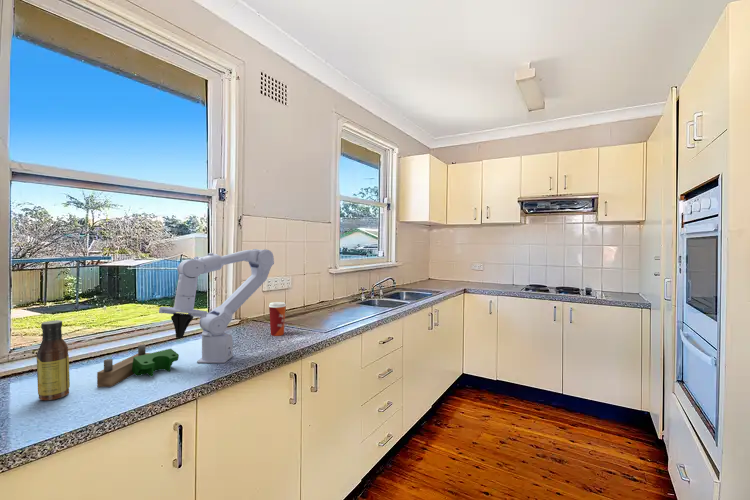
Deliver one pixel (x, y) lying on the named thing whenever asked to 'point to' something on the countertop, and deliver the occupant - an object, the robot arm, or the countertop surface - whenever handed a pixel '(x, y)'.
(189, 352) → the countertop surface
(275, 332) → the paper cup
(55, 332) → the sauce bottle
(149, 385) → the countertop surface
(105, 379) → the bar
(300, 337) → the countertop surface
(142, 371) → the clamp
